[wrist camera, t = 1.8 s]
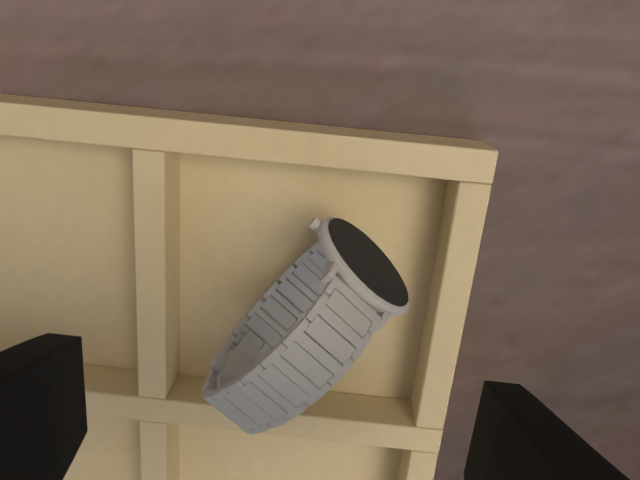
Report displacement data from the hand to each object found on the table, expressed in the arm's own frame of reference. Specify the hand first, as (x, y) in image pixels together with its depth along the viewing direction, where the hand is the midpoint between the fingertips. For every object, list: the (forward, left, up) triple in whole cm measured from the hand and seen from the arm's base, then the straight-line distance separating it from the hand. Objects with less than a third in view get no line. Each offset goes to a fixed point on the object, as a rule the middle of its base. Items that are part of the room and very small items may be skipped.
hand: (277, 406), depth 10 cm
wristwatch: (0, 0, -6) cm, 6 cm away
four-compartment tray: (-4, +4, -6) cm, 8 cm away
